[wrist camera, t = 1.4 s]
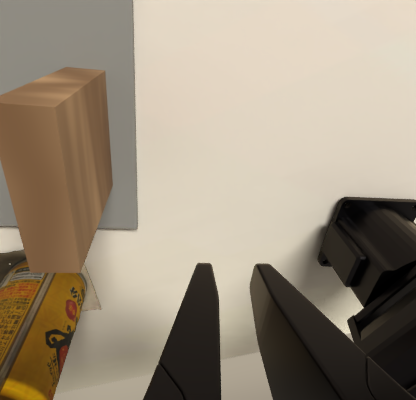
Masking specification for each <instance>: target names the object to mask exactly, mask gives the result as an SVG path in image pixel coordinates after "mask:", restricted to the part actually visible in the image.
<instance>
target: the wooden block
mask: <svg viewBox="0 0 416 400" xmlns="http://www.w3.org/2000/svg"><path fill="white" fill-rule="evenodd" d="M0 161H1V164H2V168H3V172H4V176H5V179H6V183H7V187H8V191H9V194H10V198H11V202H12V206H13V209H14V213H15V217H16V221H17V224H18V228H19V232H20V236H21V239H22V243H23V247H24V250H25V254H26V258H27V262H28V265H29V269H30V273H81V270H82V267H83V265H84V262H85V259H86V256H87V254H88V251H89V248H90V246H91V243H92V240H93V238H94V235H95V232H96V229H97V227H98V224H99V221H100V219H101V216H102V213H103V211H104V208H105V205H106V203H107V200H108V197H109V194H110V192H111V189H112V186H113V179H112V164H111V149H110V134H109V119H108V105H107V90H106V75H105V70H94V69H84V68H73V67H65V68H62V69H60V70H58V71H55V72H53V73H51V74H49V75H46V76H44V77H42V78H39V79H37V80H35V81H32V82H30V83H28V84H25V85H23V86H21V87H18V88H16V89H14V90H12V91H9V92H7V93H5V94H2V95H0Z"/></svg>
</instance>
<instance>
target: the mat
mask: <svg viewBox="0 0 416 400" xmlns="http://www.w3.org/2000/svg"><path fill="white" fill-rule="evenodd" d="M65 67H73V68H84V69H94V70H105V75H106V90H107V105H108V119H109V134H110V149H111V164H112V179H113V186H112V189H111V192H110V194H109V197H108V200H107V203H106V205H105V208H104V211H103V213H102V216H101V219H100V221H99V224H98V227H97V228H112V229H137V228H138V210H137V163H136V117H135V70H134V23H133V0H0V95H2V94H5V93H7V92H9V91H12V90H14V89H16V88H18V87H21V86H23V85H25V84H28V83H30V82H32V81H35V80H37V79H39V78H42V77H44V76H46V75H49V74H51V73H53V72H55V71H58V70H60V69H62V68H65ZM0 226H18V224H17V221H16V217H15V213H14V209H13V206H12V202H11V198H10V194H9V191H8V187H7V183H6V179H5V176H4V172H3V168H2V164H1V161H0Z"/></svg>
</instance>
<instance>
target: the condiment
mask: <svg viewBox="0 0 416 400" xmlns="http://www.w3.org/2000/svg"><path fill="white" fill-rule="evenodd" d="M9 263H10V264H11V265H9ZM93 309H100V310H101V307H100V304H99V301H98V298H97V296H96V293H95V290H94V288H93V285H92V282H91V280H90V277H89V275H88V272H87V270H86V267H85V265H83V267H82V270H81V273H30V269H29V265H28V262H27V258H26V254H25V250H21V251H13V252H9V253H0V400H53V397H54V394H55V391H56V387H57V384H58V382H59V378H60V374H61V372H62V368H63V365H64V362H65V359H66V356H67V353H68V349H69V346H70V343H71V340H72V337H73V335H74V332H75V330H76V325H77V322H78V320H79V317H80V312H81V311H87V310H93Z"/></svg>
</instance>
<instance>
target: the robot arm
mask: <svg viewBox="0 0 416 400" xmlns="http://www.w3.org/2000/svg"><path fill="white" fill-rule="evenodd" d="M346 203H348V204H347V205H345V204H346ZM415 218H416V200H411V199H387V198H363V197H344V198H342V199H341V200H340V201H339V203H338V206H337V209H336V211H335V214H334V217H333V219H332V222H331V224H330V226H329V228H328V231H327V234H326V237H325V239H324V242H323V245H322V247H321V252H320V254H319V257H318V262H319V264H320V265H321V266H332V267H333V268H334V270H335V271H336V273H337V274H338V276H339V277H340V279H341V281H342V282H343V284H344V285H345V286H346V287H351V289H352V290H353V292H354V294H355V295H356V297H357V298H358V300H359V301H360V303H361V304H362V306H363V307H364V308H363V309H362V310H361V311H360V312H359V313H357V314H356V315H355V316H354V315H353V316H352V317H350V318H349V319H348V320H347V322H348V325H349V329H350V332H351V335H352V338H353V341H354V342H352V341H351V340H350V339H349V338H348V337H347V336H346V335H345V334H344V333H343V332H342V331H341V330H340V329H339V328H338V327H336V326H335V325H334V324H333V323H332V322H331V321H330V320H329V319H328V318H327V317H326V316H325V315H324V314H323V313H322V312H320V311H319V310H318V309H317V308H316V307H315V306H314V305H313V304H312V303H311V302H310V301H309V300H308V299H307V298H305V297H304V296H303V295H302V294H301V293H300V292H299V291H298V290H297V289H296V288H295V287H294V286H293V285H292V284H291V283H289V282H288V281H287V280H286V279H285V278H284V277H283V276H282V275H281V274H280V273H279V272H278V271H277V270H276V269H274V268H273V267H272V266H271V265H270V264H256V265H255V266H254V269H253V274H252V278H251V282H250V295H251V301H252V308H253V315H254V321H255V328H256V334H257V340H258V345H259V349H260V353H261V356H262V360H263V364H264V368H265V371H266V375H267V379H268V383H269V386H270V390H271V394H272V397H273V400H416V224H415V223H414V222H413V221H414V220H415ZM143 400H221V372H220V324H219V296H218V291H217V286H216V282H215V277H214V273H213V268H212V265H211V264H210V263H198V264H197V265H196V268H195V270H194V273H193V275H192V278H191V280H190V283H189V285H188V288H187V291H186V293H185V296H184V298H183V301H182V303H181V306H180V309H179V311H178V314H177V316H176V319H175V321H174V324H173V327H172V329H171V332H170V334H169V337H168V339H167V342H166V344H165V347H164V350H163V352H162V355H161V357H160V360H159V363H158V365H157V367H156V370H155V372H154V375H153V377H152V380H151V382H150V385H149V387H148V389H147V392H146V394H145V396H144V399H143Z"/></svg>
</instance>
